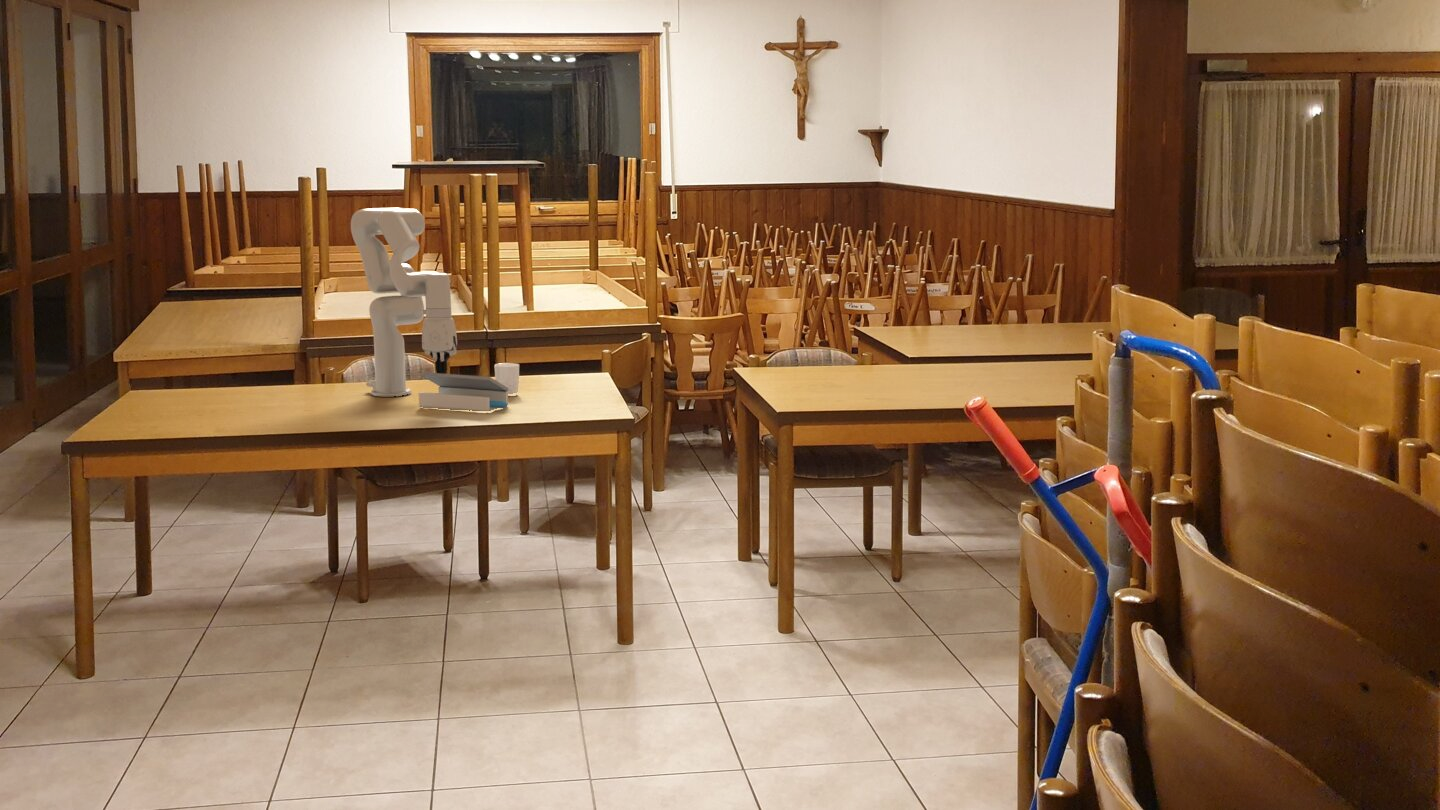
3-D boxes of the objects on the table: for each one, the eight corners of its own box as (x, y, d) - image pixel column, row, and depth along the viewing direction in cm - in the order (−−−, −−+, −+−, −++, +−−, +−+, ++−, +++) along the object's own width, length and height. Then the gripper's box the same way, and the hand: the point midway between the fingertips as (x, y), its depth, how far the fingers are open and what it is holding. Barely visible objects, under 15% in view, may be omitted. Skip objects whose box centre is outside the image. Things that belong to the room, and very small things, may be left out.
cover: (420, 375, 435) (421, 372, 435) (440, 386, 445) (440, 383, 446) (489, 380, 426) (489, 376, 426) (507, 391, 437) (508, 388, 437)
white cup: (502, 392, 464) (501, 362, 462) (524, 394, 462) (523, 363, 460) (490, 396, 457) (489, 365, 455) (512, 398, 454) (512, 367, 452)
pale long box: (419, 408, 435) (418, 392, 434) (440, 402, 446) (440, 386, 445) (488, 414, 427) (487, 397, 426) (508, 407, 438) (507, 391, 437)
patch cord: (422, 402, 440) (422, 396, 440) (426, 401, 442) (426, 395, 442) (505, 408, 430) (504, 402, 430) (508, 407, 432) (508, 401, 432)
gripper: (410, 314, 432) (413, 374, 434) (453, 315, 426) (456, 376, 429) (424, 312, 438) (427, 371, 441) (466, 313, 433) (469, 373, 436)
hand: (441, 373), depth 435 cm, fingers closed
